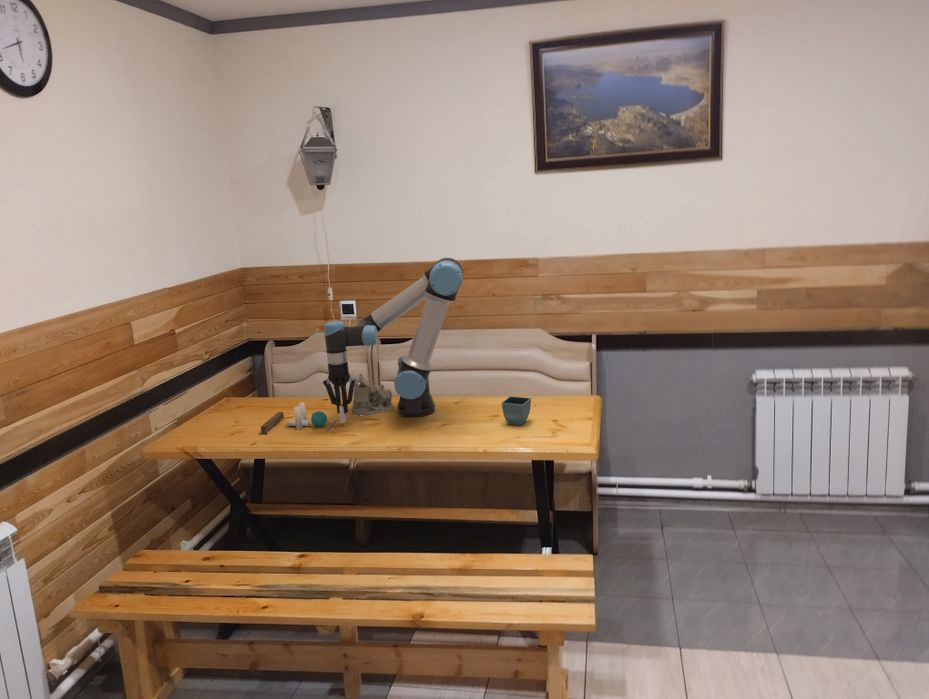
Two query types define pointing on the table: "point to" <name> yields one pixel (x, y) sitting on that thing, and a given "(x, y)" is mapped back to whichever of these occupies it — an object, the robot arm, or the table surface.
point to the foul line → (331, 425)
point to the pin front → (292, 423)
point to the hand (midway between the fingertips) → (343, 421)
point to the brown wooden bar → (272, 422)
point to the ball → (318, 419)
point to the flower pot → (516, 409)
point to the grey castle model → (370, 398)
